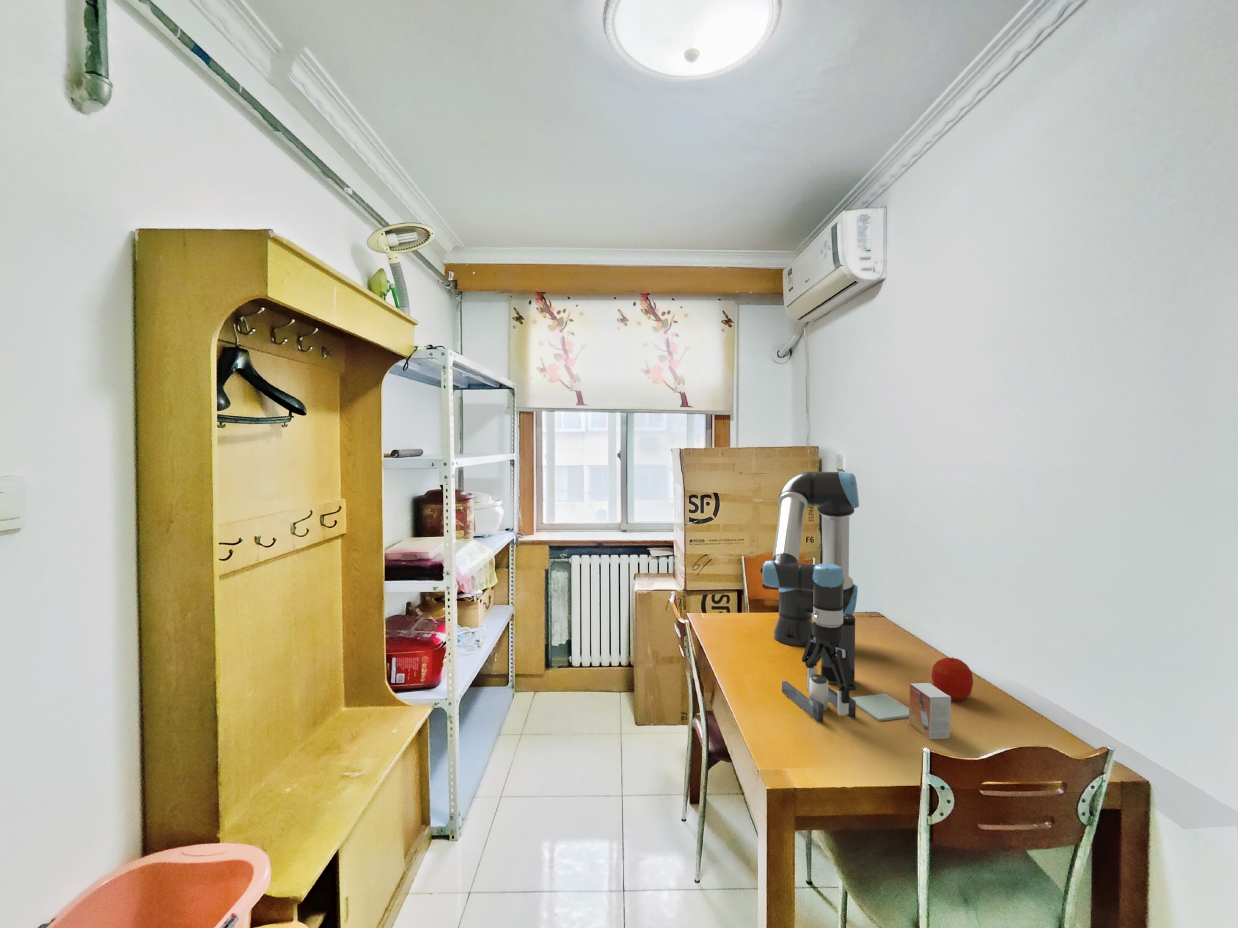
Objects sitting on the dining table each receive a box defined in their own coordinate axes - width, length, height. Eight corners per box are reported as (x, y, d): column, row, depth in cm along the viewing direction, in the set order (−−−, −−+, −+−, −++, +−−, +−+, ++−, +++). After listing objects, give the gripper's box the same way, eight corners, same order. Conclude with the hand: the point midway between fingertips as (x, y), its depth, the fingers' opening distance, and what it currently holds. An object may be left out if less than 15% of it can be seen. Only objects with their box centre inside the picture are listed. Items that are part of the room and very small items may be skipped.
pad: (848, 699, 151) (848, 697, 151) (885, 695, 153) (885, 693, 153) (878, 720, 139) (878, 718, 139) (917, 715, 142) (917, 713, 142)
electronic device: (853, 678, 165) (854, 613, 164) (854, 686, 159) (855, 619, 159) (820, 674, 168) (821, 610, 167) (821, 682, 162) (822, 616, 162)
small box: (908, 723, 138) (908, 682, 138) (929, 722, 138) (929, 681, 138) (928, 740, 130) (929, 697, 130) (950, 738, 130) (951, 696, 130)
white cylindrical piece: (805, 702, 149) (806, 674, 149) (821, 700, 150) (822, 672, 149) (815, 711, 144) (815, 682, 144) (831, 709, 145) (831, 680, 145)
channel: (781, 691, 156) (781, 676, 156) (815, 687, 158) (815, 672, 158) (818, 722, 138) (818, 705, 138) (855, 717, 141) (855, 700, 141)
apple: (952, 687, 159) (953, 648, 158) (982, 703, 149) (983, 661, 148) (923, 690, 156) (923, 651, 156) (951, 706, 147) (952, 665, 146)
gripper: (789, 610, 155) (789, 683, 155) (845, 639, 130) (844, 726, 131) (813, 609, 156) (812, 681, 157) (871, 637, 132) (870, 723, 132)
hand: (826, 702), depth 144 cm, fingers open, 13 cm apart
